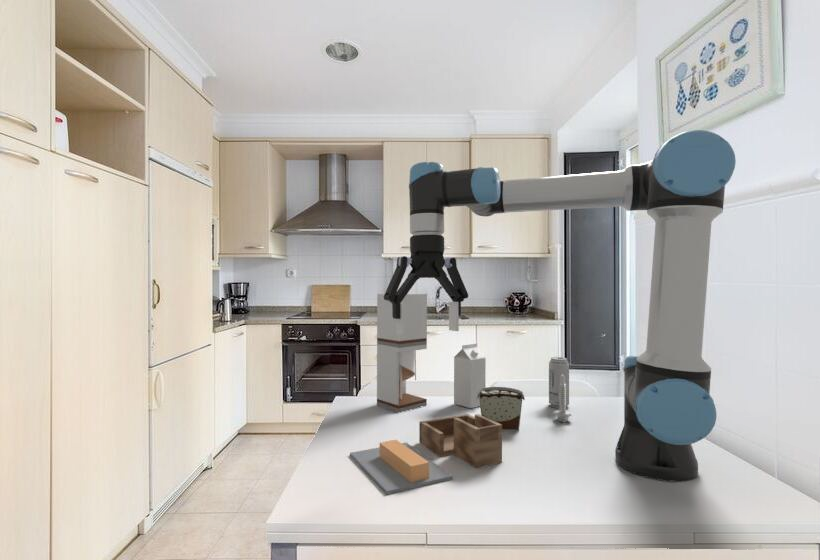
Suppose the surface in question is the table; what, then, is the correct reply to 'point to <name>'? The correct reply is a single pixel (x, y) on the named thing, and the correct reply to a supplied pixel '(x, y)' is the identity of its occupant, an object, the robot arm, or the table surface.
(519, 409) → the food container
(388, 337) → the white cabinet tower
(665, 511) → the table surface
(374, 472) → the mat
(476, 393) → the milk carton
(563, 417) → the screw
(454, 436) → the pocket block
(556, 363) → the energy drink can
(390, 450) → the tan wooden beam
